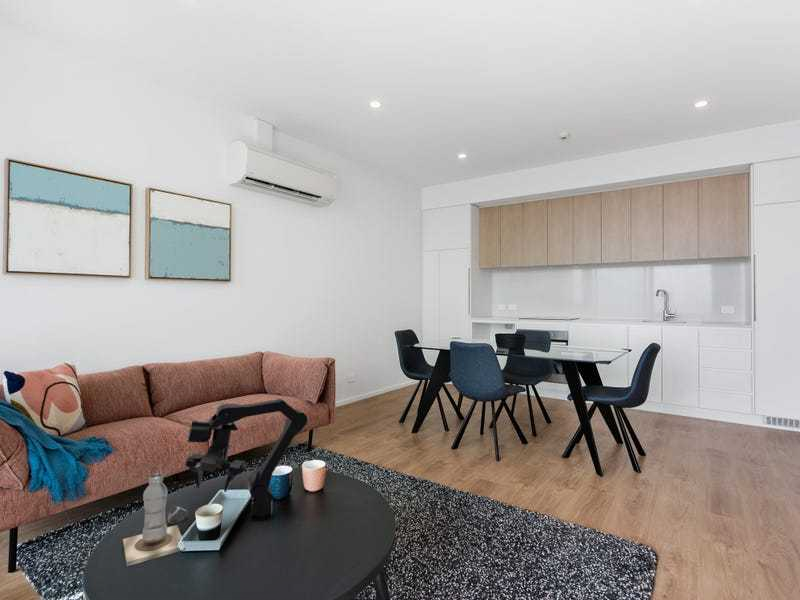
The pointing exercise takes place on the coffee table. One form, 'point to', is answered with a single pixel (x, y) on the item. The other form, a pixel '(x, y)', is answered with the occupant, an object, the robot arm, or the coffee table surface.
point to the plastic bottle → (155, 510)
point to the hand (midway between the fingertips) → (211, 489)
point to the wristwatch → (174, 511)
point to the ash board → (151, 547)
